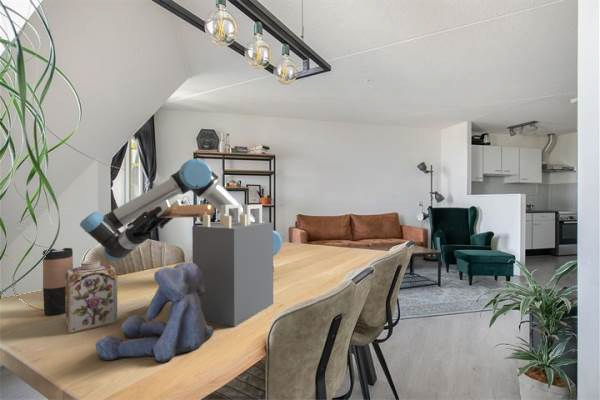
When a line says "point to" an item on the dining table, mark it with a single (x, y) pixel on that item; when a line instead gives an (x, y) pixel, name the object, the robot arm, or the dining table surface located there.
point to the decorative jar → (90, 296)
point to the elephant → (160, 335)
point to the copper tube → (187, 211)
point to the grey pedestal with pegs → (234, 265)
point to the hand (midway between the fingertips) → (173, 203)
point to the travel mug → (55, 280)
